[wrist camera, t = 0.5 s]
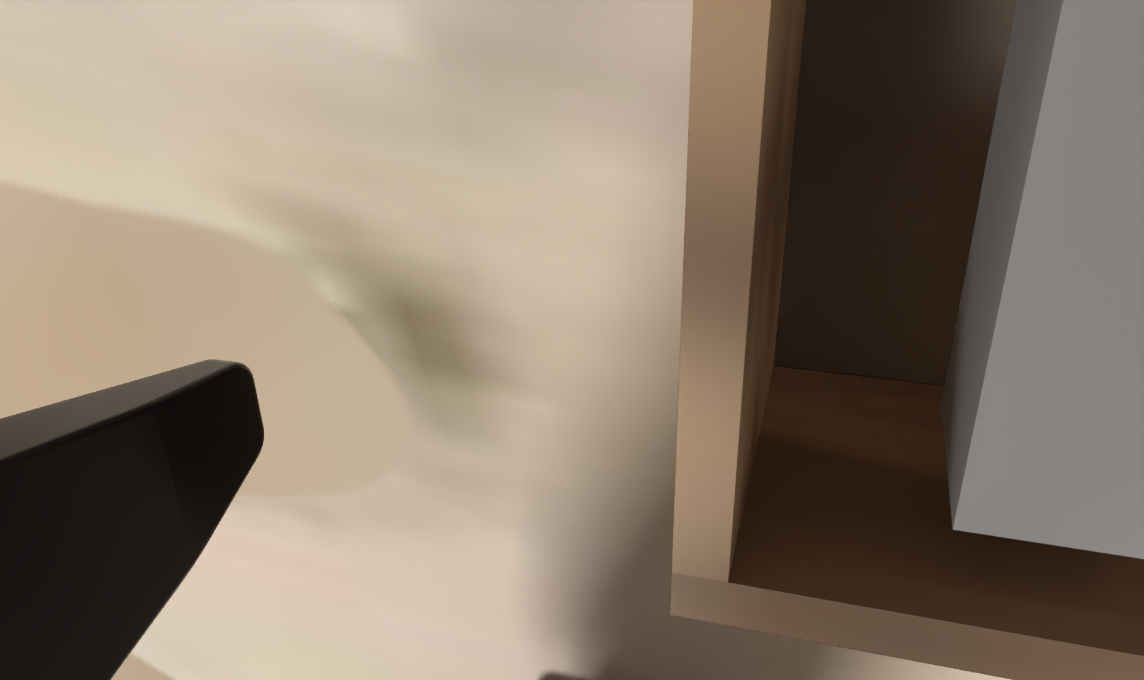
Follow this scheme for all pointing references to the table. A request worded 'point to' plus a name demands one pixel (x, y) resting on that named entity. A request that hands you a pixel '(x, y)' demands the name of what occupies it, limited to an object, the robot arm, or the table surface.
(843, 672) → the table surface
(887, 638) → the stand
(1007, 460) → the flap
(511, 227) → the table surface
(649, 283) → the table surface
